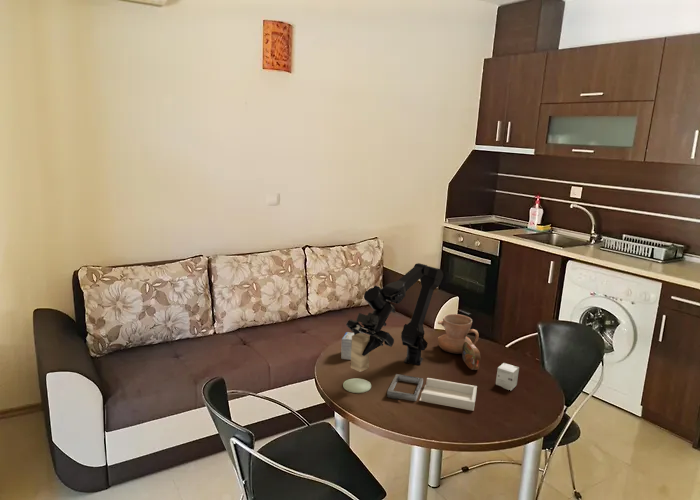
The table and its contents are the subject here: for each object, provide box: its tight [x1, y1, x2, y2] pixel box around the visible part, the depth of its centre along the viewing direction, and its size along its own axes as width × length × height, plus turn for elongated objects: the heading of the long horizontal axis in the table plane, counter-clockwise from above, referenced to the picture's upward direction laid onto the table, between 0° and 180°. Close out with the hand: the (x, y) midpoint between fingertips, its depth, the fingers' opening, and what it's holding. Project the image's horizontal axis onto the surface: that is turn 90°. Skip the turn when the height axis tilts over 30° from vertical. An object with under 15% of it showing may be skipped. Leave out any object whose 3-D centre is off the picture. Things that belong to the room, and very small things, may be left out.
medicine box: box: [340, 331, 354, 361], centre depth 208 cm, size 8×4×9 cm, turn 168°
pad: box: [342, 377, 372, 394], centre depth 183 cm, size 10×10×1 cm
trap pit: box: [386, 373, 424, 402], centre depth 181 cm, size 14×10×2 cm
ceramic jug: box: [437, 313, 480, 355], centre depth 217 cm, size 18×14×14 cm
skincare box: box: [495, 362, 520, 392], centre depth 187 cm, size 6×6×7 cm
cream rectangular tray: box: [419, 377, 478, 412], centre depth 176 cm, size 12×18×4 cm, turn 72°
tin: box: [461, 341, 482, 371], centre depth 203 cm, size 15×3×8 cm, turn 5°
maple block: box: [350, 333, 370, 373], centre depth 179 cm, size 4×4×12 cm
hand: (357, 353), depth 179 cm, fingers closed on maple block, 4 cm apart
